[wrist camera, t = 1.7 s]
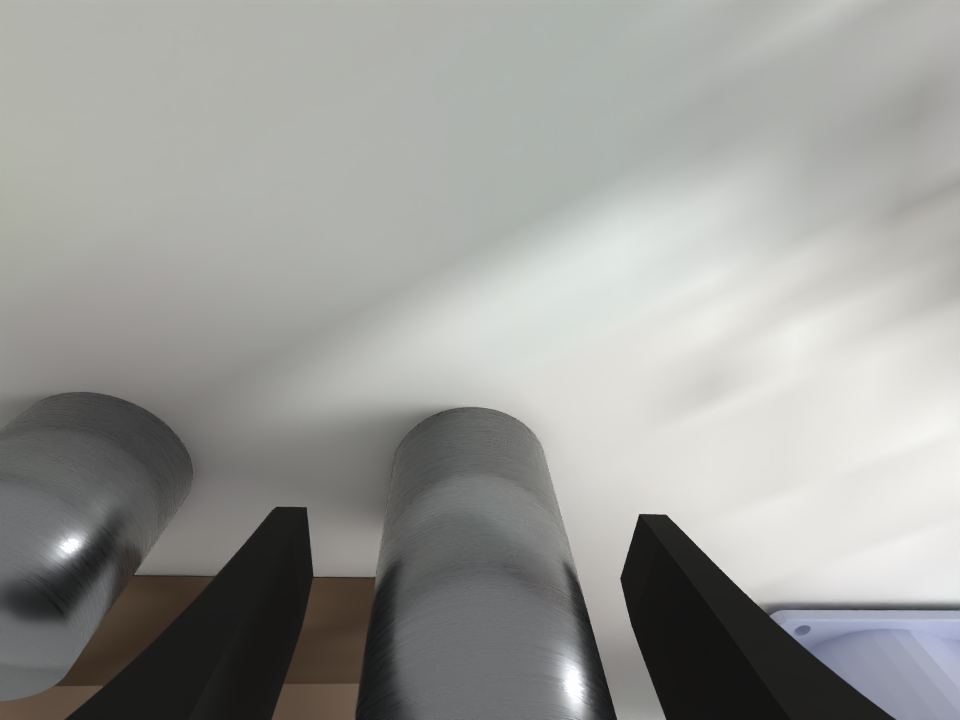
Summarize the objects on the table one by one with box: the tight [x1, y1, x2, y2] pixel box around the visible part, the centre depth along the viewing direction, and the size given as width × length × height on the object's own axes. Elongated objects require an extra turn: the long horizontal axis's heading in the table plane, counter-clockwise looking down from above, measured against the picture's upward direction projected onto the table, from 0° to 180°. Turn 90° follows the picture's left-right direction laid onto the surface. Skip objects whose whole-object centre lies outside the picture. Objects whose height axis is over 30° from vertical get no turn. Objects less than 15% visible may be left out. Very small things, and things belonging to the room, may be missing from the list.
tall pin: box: [354, 408, 617, 720], centre depth 10 cm, size 4×4×8 cm
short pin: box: [0, 392, 193, 701], centre depth 10 cm, size 4×4×4 cm
